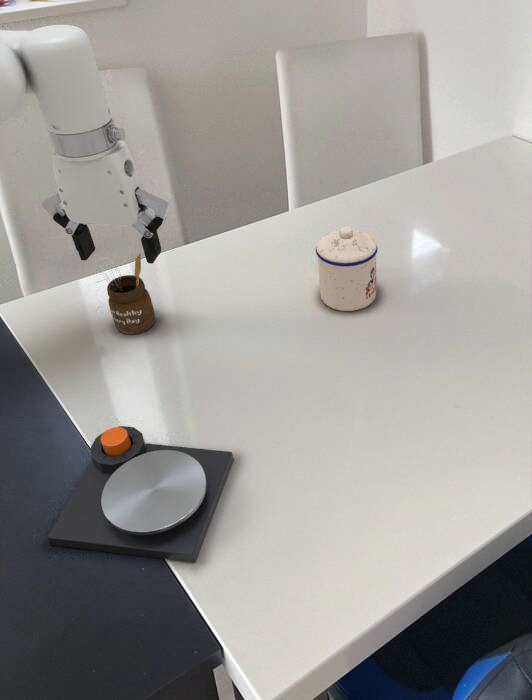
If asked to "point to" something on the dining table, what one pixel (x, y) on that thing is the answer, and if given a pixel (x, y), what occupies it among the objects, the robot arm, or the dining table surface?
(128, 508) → the brushed metal disc
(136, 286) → the utensil holder
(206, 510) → the scale
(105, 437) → the tare button
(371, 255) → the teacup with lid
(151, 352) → the dining table surface
